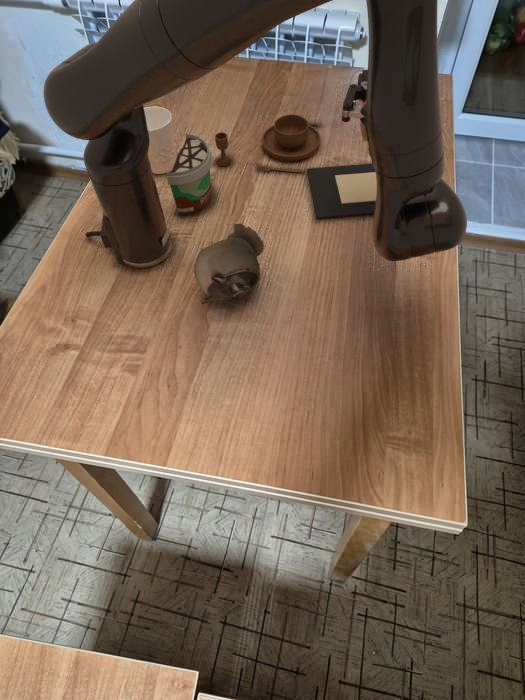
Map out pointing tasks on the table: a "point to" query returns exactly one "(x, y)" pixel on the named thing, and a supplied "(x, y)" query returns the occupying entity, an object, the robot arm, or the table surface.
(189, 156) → the food container
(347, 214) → the mat
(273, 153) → the place setting
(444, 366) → the table surface
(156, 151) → the white cup
